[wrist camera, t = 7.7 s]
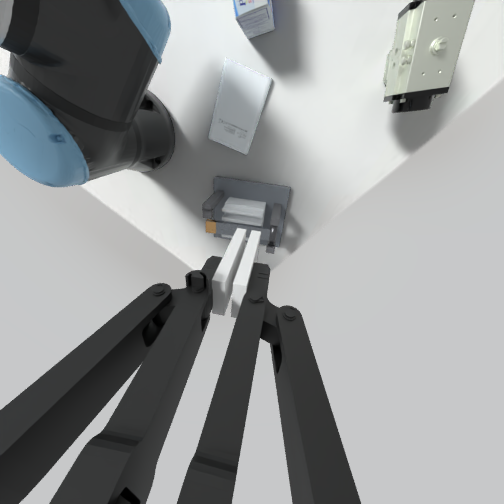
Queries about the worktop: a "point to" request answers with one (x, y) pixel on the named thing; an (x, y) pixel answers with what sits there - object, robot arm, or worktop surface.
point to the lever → (230, 228)
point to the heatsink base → (255, 195)
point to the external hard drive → (238, 106)
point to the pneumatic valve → (425, 52)
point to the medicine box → (254, 16)
